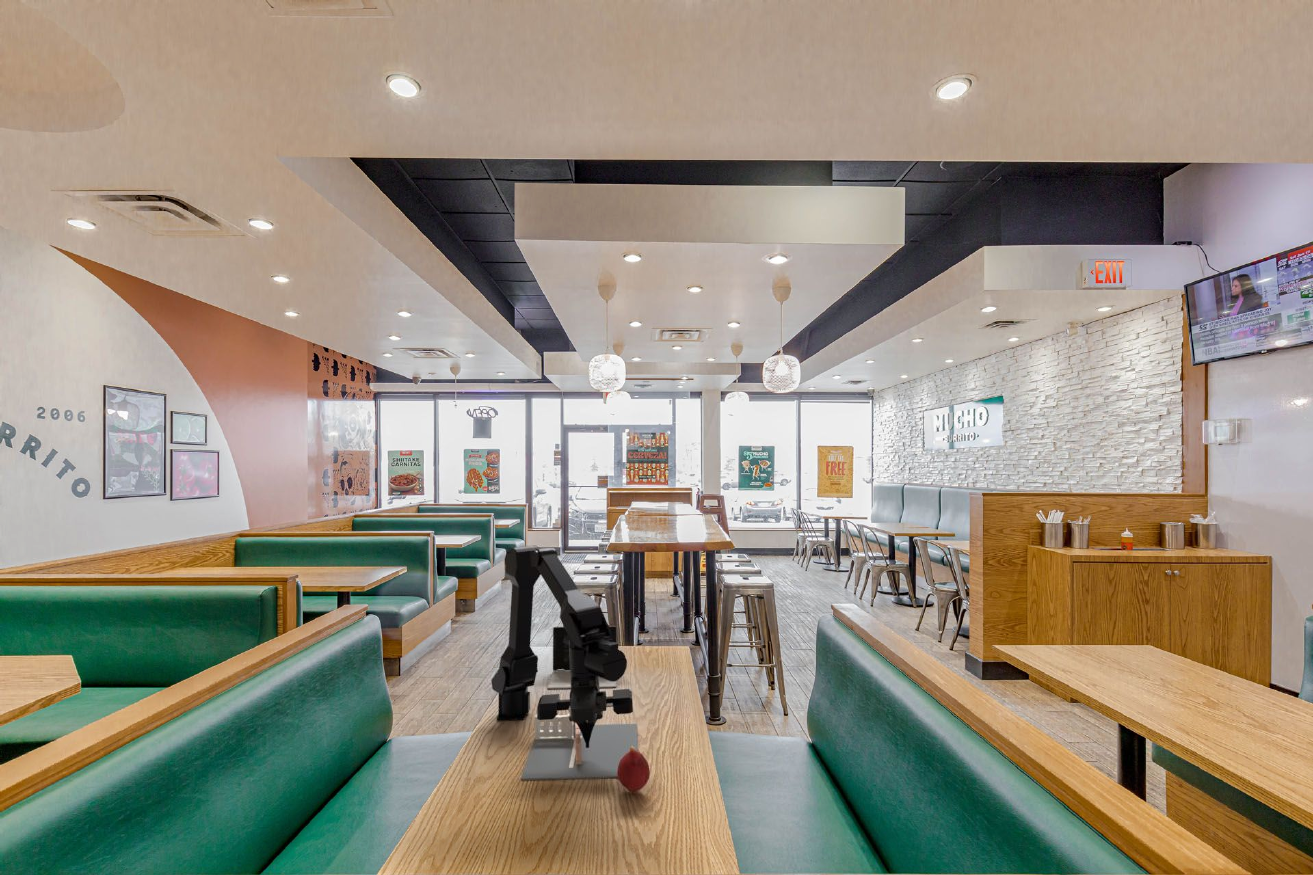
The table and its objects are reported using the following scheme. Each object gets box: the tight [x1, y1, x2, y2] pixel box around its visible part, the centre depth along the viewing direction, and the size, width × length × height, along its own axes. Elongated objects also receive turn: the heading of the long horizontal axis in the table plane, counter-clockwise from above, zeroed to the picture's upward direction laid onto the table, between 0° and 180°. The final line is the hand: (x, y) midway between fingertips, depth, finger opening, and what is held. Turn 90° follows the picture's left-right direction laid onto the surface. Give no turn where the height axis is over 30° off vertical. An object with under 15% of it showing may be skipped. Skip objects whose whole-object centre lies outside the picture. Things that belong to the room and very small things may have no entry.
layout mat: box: [520, 723, 639, 781], centre depth 122 cm, size 22×22×1 cm
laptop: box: [547, 625, 618, 690], centre depth 161 cm, size 18×12×13 cm
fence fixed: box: [534, 713, 573, 740], centre depth 127 cm, size 8×1×5 cm, turn 93°
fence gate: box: [572, 722, 581, 764], centre depth 121 cm, size 13×1×4 cm, turn 9°
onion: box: [617, 746, 651, 794], centre depth 107 cm, size 6×6×8 cm
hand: (587, 746), depth 119 cm, fingers closed
